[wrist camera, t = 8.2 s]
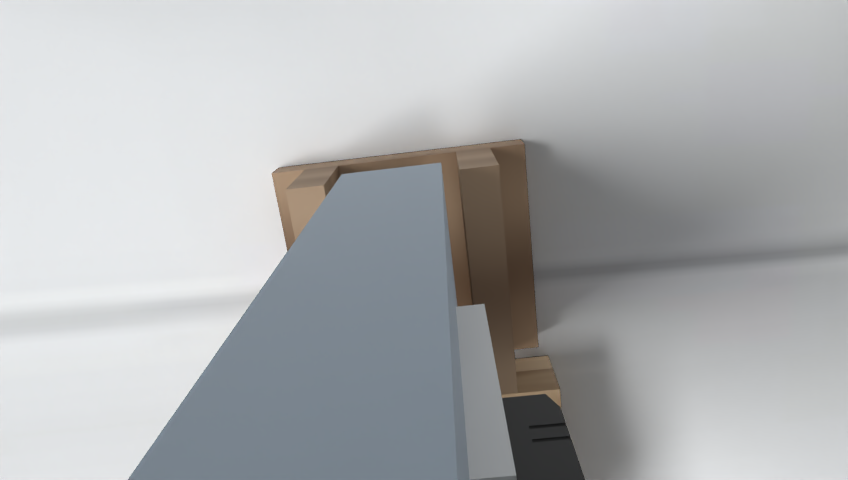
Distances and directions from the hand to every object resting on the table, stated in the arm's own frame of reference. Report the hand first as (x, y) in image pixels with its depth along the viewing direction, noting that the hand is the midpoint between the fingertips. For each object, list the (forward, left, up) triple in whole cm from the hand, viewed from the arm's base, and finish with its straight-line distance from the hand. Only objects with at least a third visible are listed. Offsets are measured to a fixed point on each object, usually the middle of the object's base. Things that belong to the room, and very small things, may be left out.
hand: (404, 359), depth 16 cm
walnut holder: (0, 0, -8) cm, 8 cm away
